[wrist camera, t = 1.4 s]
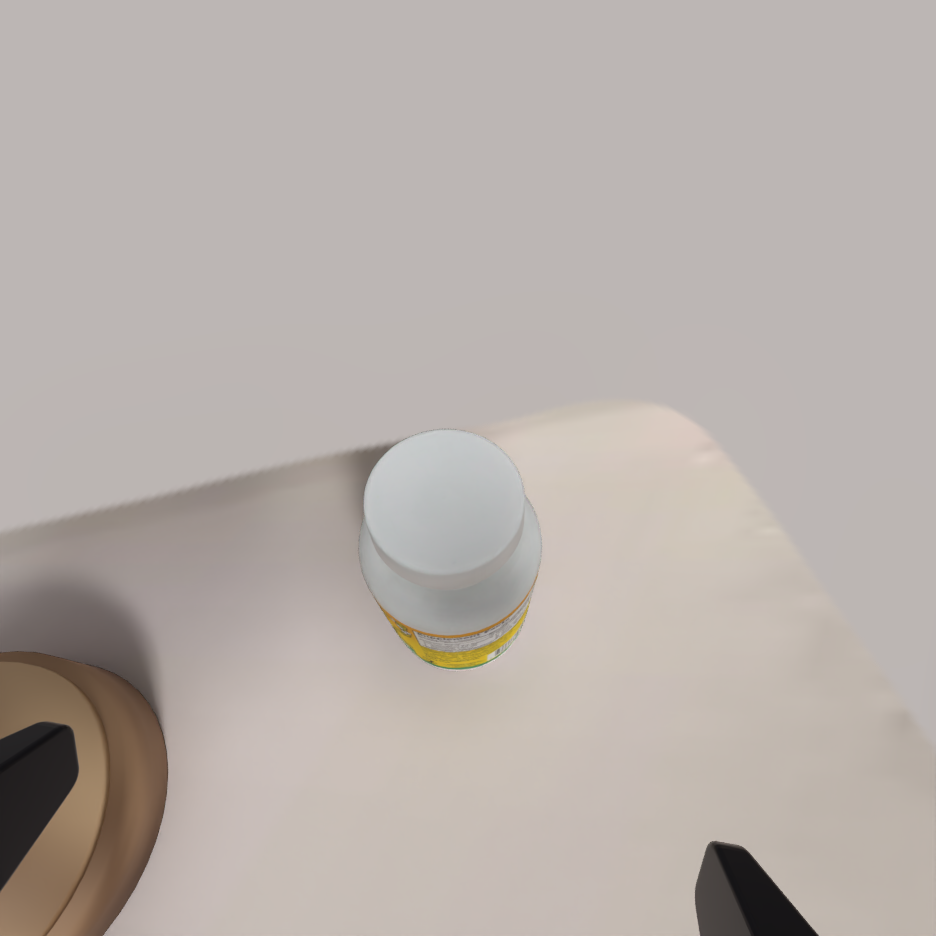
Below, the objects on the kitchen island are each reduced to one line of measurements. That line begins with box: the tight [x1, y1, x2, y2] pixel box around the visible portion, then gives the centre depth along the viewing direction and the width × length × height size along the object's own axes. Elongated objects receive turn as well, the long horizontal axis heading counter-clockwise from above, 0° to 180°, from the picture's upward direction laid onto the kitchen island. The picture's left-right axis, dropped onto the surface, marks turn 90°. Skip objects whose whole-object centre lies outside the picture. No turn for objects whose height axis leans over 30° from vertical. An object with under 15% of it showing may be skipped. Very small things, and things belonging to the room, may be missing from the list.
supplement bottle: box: [359, 429, 542, 671], centre depth 17 cm, size 5×5×10 cm
